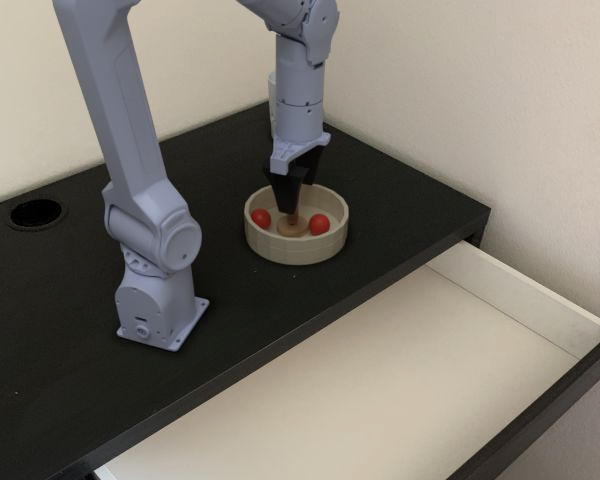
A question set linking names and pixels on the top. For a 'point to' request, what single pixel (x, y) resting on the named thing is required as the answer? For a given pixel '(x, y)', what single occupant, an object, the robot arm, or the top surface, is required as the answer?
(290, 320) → the top surface
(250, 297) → the top surface
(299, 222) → the wooden peg stand
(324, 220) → the tomato
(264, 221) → the tomato
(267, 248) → the bowl
